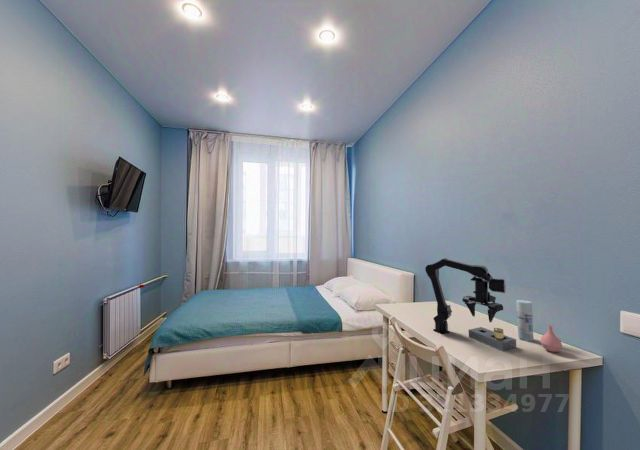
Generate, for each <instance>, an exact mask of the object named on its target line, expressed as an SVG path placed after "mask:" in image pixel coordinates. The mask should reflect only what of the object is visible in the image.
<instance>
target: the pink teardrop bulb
mask: <svg viewBox="0 0 640 450" xmlns="http://www.w3.org/2000/svg"><path fill="white" fill-rule="evenodd" d="M540 337H541V338H540V344H541V346H542V348H543V349H545V350H547V351H549V352H550V351H551V352H550V353H555V352H561V351H562V349H563V344H562V340H561V339H560V338H559V337H558V336H556V334H555V332H554V330H553V325H551V324H548V325H547V331H546V333H545V334H543V335H542V336H540Z"/></svg>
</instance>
